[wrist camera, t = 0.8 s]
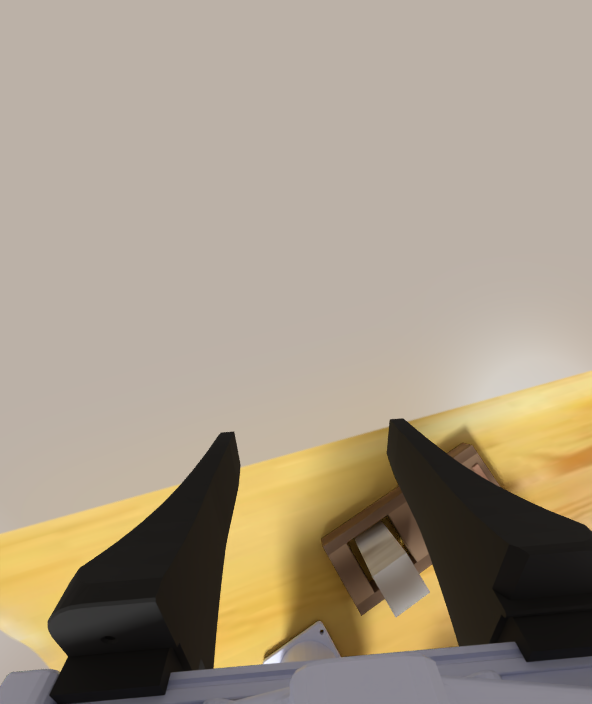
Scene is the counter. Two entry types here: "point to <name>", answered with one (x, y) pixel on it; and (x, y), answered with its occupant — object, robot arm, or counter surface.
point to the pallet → (389, 547)
